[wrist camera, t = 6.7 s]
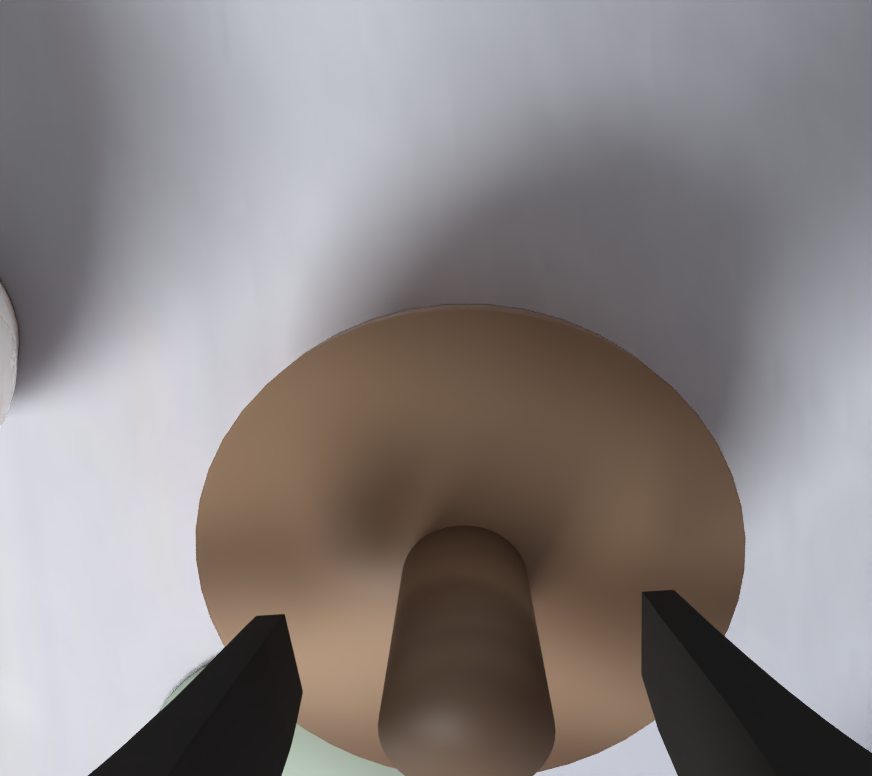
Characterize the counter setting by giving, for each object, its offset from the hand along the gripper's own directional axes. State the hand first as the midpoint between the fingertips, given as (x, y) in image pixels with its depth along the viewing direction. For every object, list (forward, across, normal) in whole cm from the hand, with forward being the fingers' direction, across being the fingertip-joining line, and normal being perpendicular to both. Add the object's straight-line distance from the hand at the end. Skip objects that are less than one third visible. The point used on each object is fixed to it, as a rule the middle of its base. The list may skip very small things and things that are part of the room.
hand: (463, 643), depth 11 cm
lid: (+3, 0, 0) cm, 3 cm away
